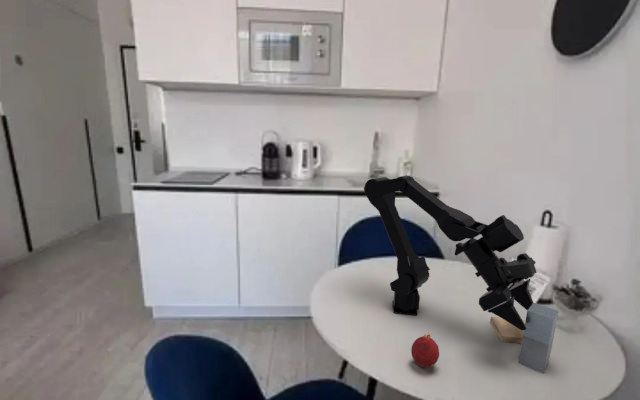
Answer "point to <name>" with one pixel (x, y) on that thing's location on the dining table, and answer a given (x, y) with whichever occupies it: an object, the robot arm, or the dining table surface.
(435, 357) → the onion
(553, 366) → the dining table surface
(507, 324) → the cork pad
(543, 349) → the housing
